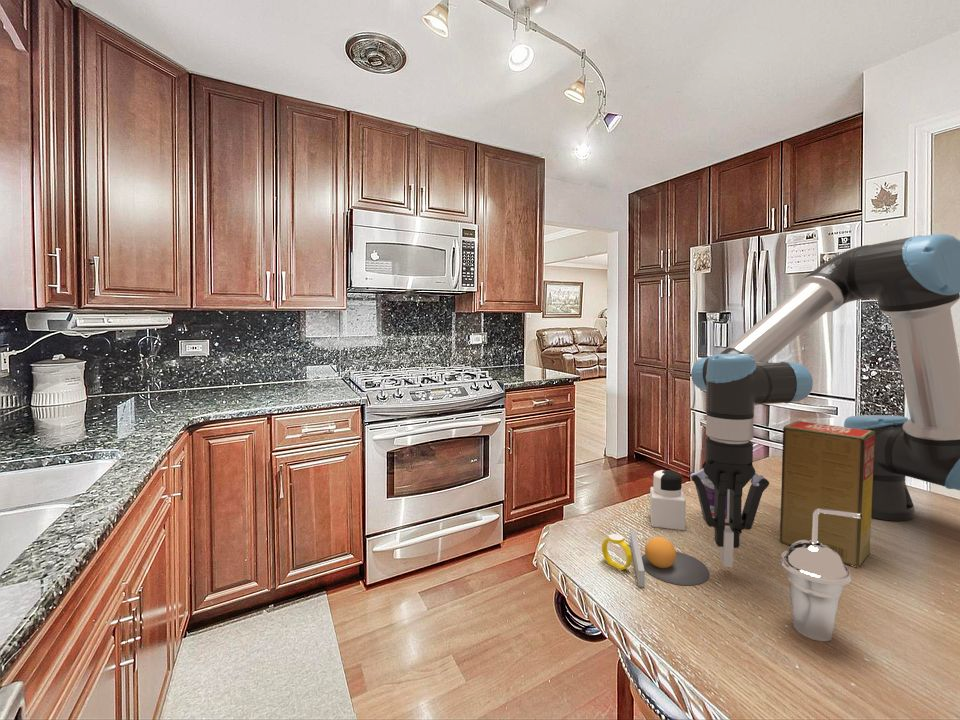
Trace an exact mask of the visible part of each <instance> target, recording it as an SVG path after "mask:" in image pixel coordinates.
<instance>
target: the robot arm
mask: <svg viewBox="0 0 960 720" xmlns="http://www.w3.org/2000/svg"><path fill="white" fill-rule="evenodd" d="M873 299H874V300H877V304H878V309H879V311H880V312H881V313H883V314H885V315H887V316H889V317H890V320H891V325H892V329H893V331H892V332H893V335H894V340H895V341H894V342H895V345H896V351H897V356H898V361H899V367H900V372H901V376H902V377H901V378H902V382H903V386H904V393H905V398H906V403H907V407H908V413H909V418H908V417H907V416H901V415H891V414H889V415H888V414H887V415H885V414H859V415H852V416H849V417H847V418H845V420H844V423H843V427H848V428H854V429H862V430H872V431H875V447H874V469H873V486H872V510H871V519H878V520H883V521H899V522H900V521H901V522H903V521H910V520H912V519H914V518H915V505H914V503H913V499H912V497H911V494H910V491H909V489H908V487H907V484H906V477H909V478H913V479H915V480H919V481H923V482H926V483H931V484H933V485H938V486H941V487H945V488H946V489H948V490H957V491H960V358H959V357H960V356H959V352H958V344H957V338H956V333H955V327H954V321H953V316H952V309H951V308H952V307H953V306H954V305H955V304H957V302H958V301H960V239H958V238H957V237H955V236H953V235H950V234H945V233H936V234H928V235H926V234H925V235H915V236H910V237H905V238H900V239H894V240H889V241H884V242H879V243H874V244H868V245H867V244H866V245H861V246H857V247H853V248H851V249H849V250H846V251H843V252H841V253H839V254H837V255H836V256H834V257H832V258H830V259H829V260H827V261H825V262H824V263H822V264H820V265H819V266H818V267H817V268H815V269H814V270H812V271H811V272H810V273H808V274H807V275H806V276H805V277H803V278H802V279H801V280H800V281H798V283H797V286H796V290H795V291H794V292H792V293H791V294H790V295H788V297H786V298H785V299H784V300H782V301H781V303H779V304H778V305H777V306H776V307H774V308H773V309H772V310H770V312H769V313H766V315H765V316H764V317H763V318H761V319H760V320H758V321H757V322H756V323H755V324H754V325H752V326H751V327H750V328H749V329H748V330H747V331H746V332H745V333H743V334H742V335H741V336H740V337H738V338H737V339H736V340H735V341H734V342H732V343H731V344H730V345H729V346H727V348H725V349H724V350H723V351H721V352H720V353H716V354H715V353H714V354H712V355H711V356H708V357H702V358H699V359H698V360H696V362H694V364H693V366H692V368H691V373H690V376H691V380H692V383H693V384H694V386H695V387H696V388H698V389H699V390H702V391H705V392H706V400H705V401H706V406H705V407H706V411H705V413H706V418H705V419H706V420H705V434H706V436H707V437H706V439H705V452H704V453H705V458H704V459H705V460H704V462H703V463H702V466H701V467H702V468H701V469H699V470H697V471H690V472H689V478H691V481H692V482H693V483H694V485H695V489H696V494H697V496H698V501H699V505H700V509H701V513H702V517H703V520H704V522H705V523H706V525H707V526H708V527H709V528H714V534H713V535H714V537H713V538H714V543H715V544H716V546H717V547H719V560H720V561H721V563H722V566H724V567H727V568H733V567H734V549H739V546H740V535H741V534H742V533H743V530H748V531H749V530H751V529H752V527H753V524H754V522H755V519H756V514H757V512H758V508H759V506H760V503H761V498H762V495H763V492H765V490H766V489H767V488H768V487H769V485H770V481H769V480H768V479H767V478H765V477H764V476H763V475H761V474H758V473H756V469H755V468H754V465H753V462H754V461H753V459H754V458H753V456H754V455H753V454H754V443H753V442H752V441H751V440H753V439H754V417H755V406H757V405H770V404H772V405H773V404H790V403H794V402H800V401H803V400H805V399H806V398H807V397H808V396H809V395H810V394H811V392H812V391H813V385H814V383H813V376H812V374H811V372H810V371H809V369H808V368H807V366H804V365H802V363H798V362H788V361H780V362H770V360H772V359H773V358H774V357H775V356H776V355H777V354H778V353H780V352H781V351H782V350H783V349H785V347H787V346H788V345H789V344H791V342H793V341H794V340H795V339H797V337H799V336H800V335H801V334H802V333H803V332H805V331H806V330H807V329H808V328H809V327H810V326H811V325H813V324H814V323H815V322H817V321H818V320H819V319H820V318H821V317H822V316H824V315H825V314H826V313H833V312H834V311H836V310H839V308H841V307H842V306H843V305H845V304H847V303H850V302H851V303H852V302H855V301H860V300H873ZM706 475H707V476H708V478H709V479H710V480H711V482H712V483H713V484H714V490H715V497H714V518H713V517H712V513H711V509H710V505H709V501H708V497H707V493H706V489H705V486H704V484H703V483H704V482H705V476H706ZM749 482H750V487H749V489H748V493H747V496H746V499H745V502H744V506H743V509H742V507H741V496H742V497H743V488H744V487H745V486H746V485H747V484H748V483H749ZM727 489H729V490H730V504H729V523H728V524H729V525H726V523H725V501H726V494H727Z"/></svg>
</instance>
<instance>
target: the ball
mask: <svg viewBox="0 0 960 720" xmlns="http://www.w3.org/2000/svg"><path fill="white" fill-rule="evenodd" d="M676 552H677V551H676V548H675V547H674V544H673V543H671V541H670V540H668V539H667V538H665V537H662V536H655V537H651V538H650V539H649V540H648V541H647V542H646V544H645V547H644V554H646V557H647V559H648V560H649V562H650V563H651V564H653V565H654V566H656V567H658V568H667V567H670V566H671V565H672V564H673V563H674V561H675V559H676Z"/></svg>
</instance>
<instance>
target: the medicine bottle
mask: <svg viewBox="0 0 960 720" xmlns="http://www.w3.org/2000/svg"><path fill="white" fill-rule="evenodd" d="M682 478H683V477H682V475H681V474H680V473H678V472H676V471H673V470H671V469H670V470H668V469H661V470H660V469H659V470H656V471H655V472H654V473H653V486H650V488H649V490H650V492H649V493H650V494H649V500H650V501H649V503H650V504H649V515H650V523H651V527H652V528H653V527H655V528H662V529H669V530H679V531H685V530H686V513H687V512H686V509H687V508H686V498H685V494H684V492H683V490H682V483H683V481H682V480H683V479H682Z"/></svg>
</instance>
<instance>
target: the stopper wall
mask: <svg viewBox="0 0 960 720" xmlns="http://www.w3.org/2000/svg"><path fill="white" fill-rule="evenodd" d="M636 532H637V531H636V529H632V528H631V529H630V531H629V534H630V535H629V536H630V537H629V542H630V551H631V553H632V561H633V564H634V569H635V574H636V580H637V586H638V587H639V588H645V586H646V585H645V584H646V583H645V577H646V576H645V572H646V571H645V570H644V566H643V562H642V554H641V550H640V546H639V540H638V536H637V533H636Z"/></svg>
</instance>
